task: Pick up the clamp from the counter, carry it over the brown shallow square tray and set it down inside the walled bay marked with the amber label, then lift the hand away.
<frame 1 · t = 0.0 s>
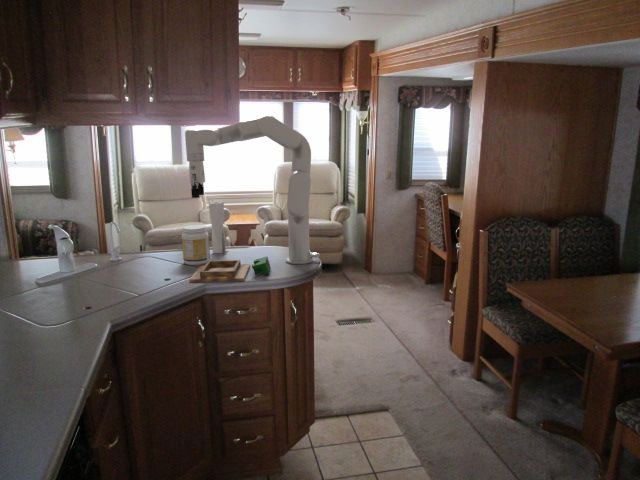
hand: (198, 196, 222), 31 cm above the countertop, tool pointing down, fingers open, 9 cm apart
clamp: (261, 273, 212), on the countertop
brown shallow square tray: (221, 274, 210), on the countertop
supplement tub: (197, 262, 231), on the countertop
skyscraper: (219, 253, 249), on the countertop
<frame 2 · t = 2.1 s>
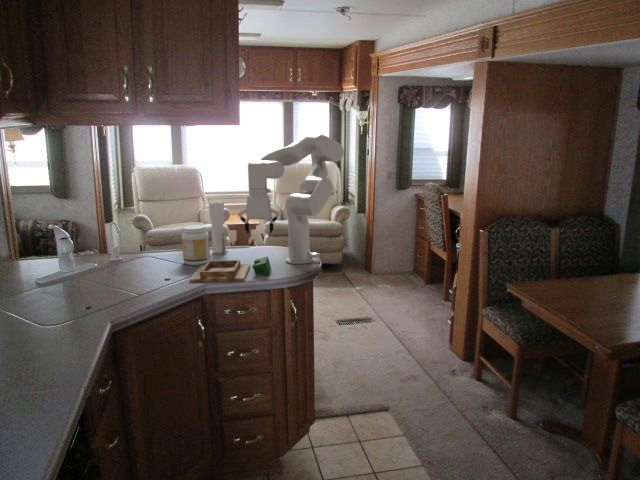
hand: (259, 232, 208), 18 cm above the countertop, tool pointing down, fingers open, 9 cm apart
nothing on the countertop moved.
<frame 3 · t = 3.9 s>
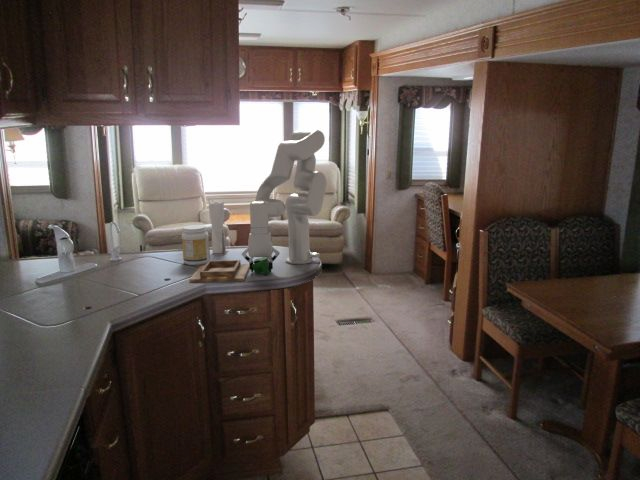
hand: (261, 270, 212), 1 cm above the countertop, tool pointing down, fingers closed on clamp, 7 cm apart
clamp: (261, 273, 212), on the countertop, touching gripper
everything else where it was.
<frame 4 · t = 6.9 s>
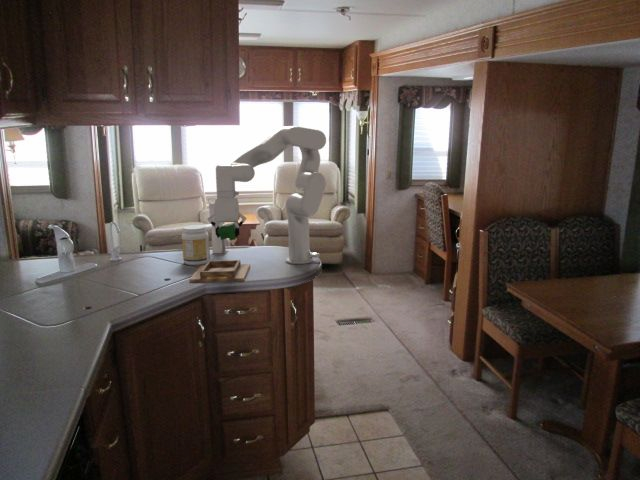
hand: (227, 236, 207), 16 cm above the countertop, tool pointing down, fingers closed on clamp, 7 cm apart
clamp: (228, 239, 207), point 15 cm above the countertop, touching gripper
everything else where it was.
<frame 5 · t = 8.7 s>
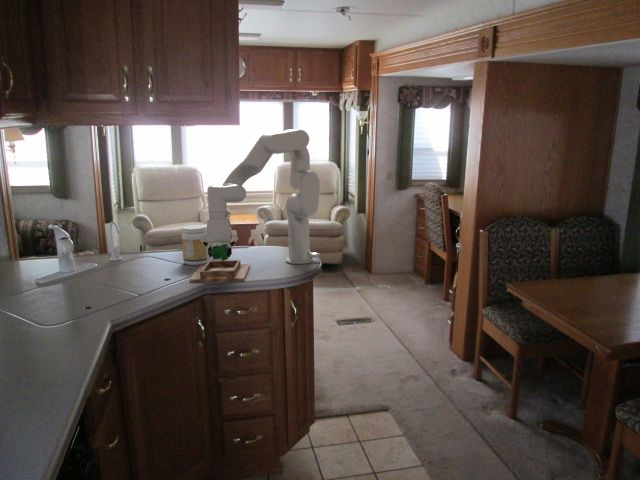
hand: (220, 256, 209), 8 cm above the countertop, tool pointing down, fingers closed on clamp, 7 cm apart
clamp: (220, 258, 209), point 7 cm above the countertop, touching gripper
everything else where it was.
when the fingers open (4 cm above the countertop, at t = 10.0 s): clamp drops 2 cm, resting on brown shallow square tray.
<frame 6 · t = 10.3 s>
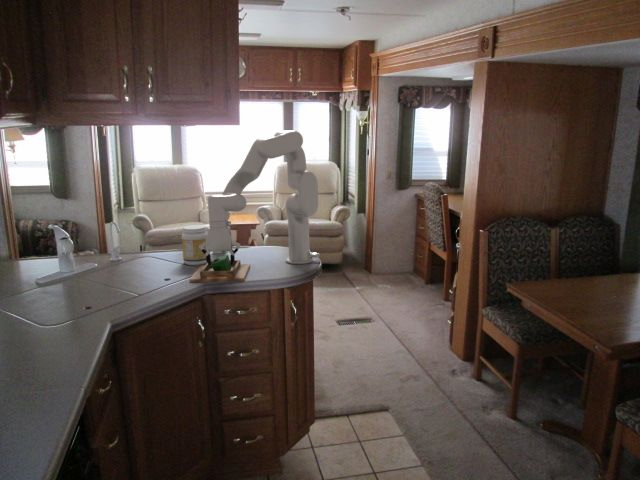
hand: (220, 263, 209), 4 cm above the countertop, tool pointing down, fingers open, 9 cm apart
clamp: (221, 271, 210), point 1 cm above the countertop, touching brown shallow square tray
everything else where it was.
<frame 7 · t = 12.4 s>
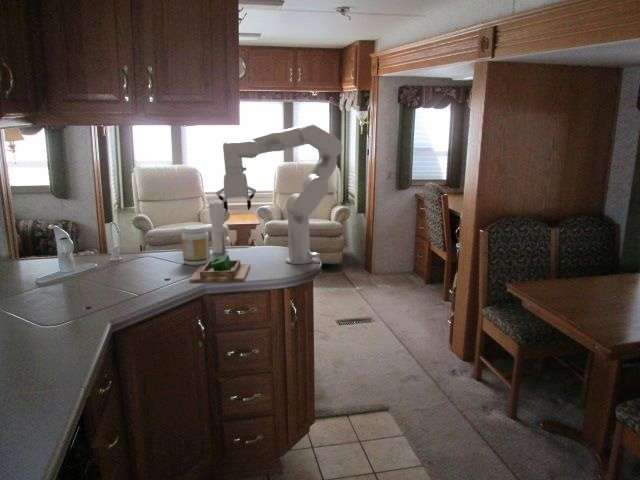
hand: (237, 210, 216), 26 cm above the countertop, tool pointing down, fingers open, 9 cm apart
nothing on the countertop moved.
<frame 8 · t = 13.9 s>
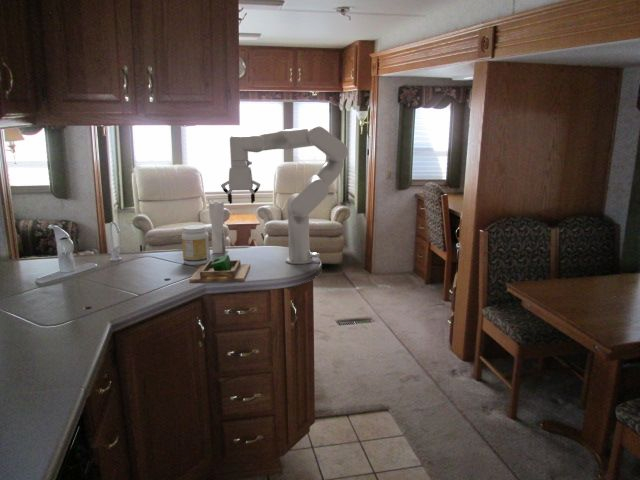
hand: (241, 203, 219), 28 cm above the countertop, tool pointing down, fingers open, 9 cm apart
nothing on the countertop moved.
at the end: clamp inside the target area on the brown shallow square tray (0.2 cm from its centre), point 1.0 cm above the brown shallow square tray's base; the gripper is holding nothing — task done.
